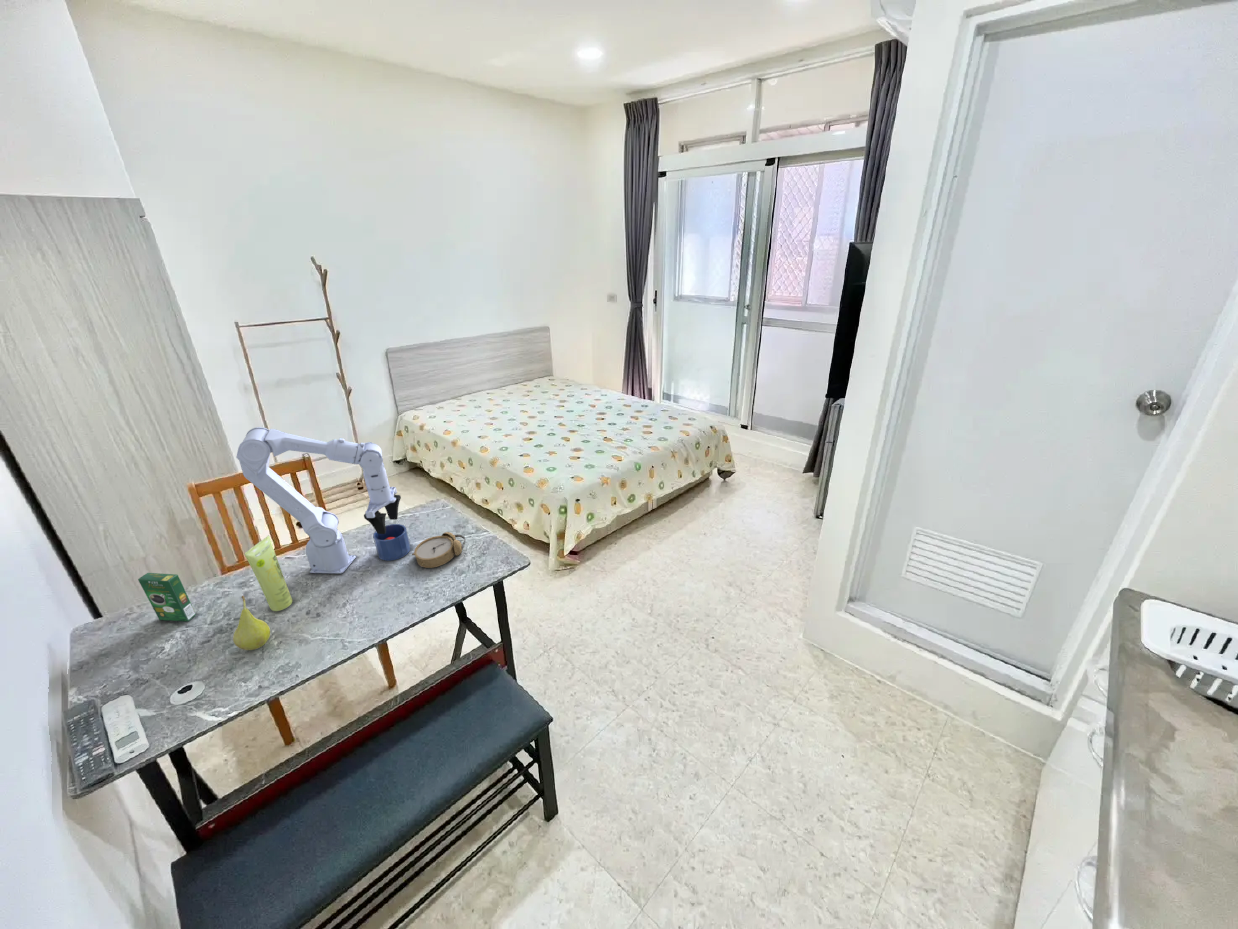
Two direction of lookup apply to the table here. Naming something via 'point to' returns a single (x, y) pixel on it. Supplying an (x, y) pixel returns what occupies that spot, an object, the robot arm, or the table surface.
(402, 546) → the cup
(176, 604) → the coffee box
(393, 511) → the robot arm
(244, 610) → the fruit
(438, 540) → the alarm clock
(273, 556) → the tube
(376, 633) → the table surface
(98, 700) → the table surface
